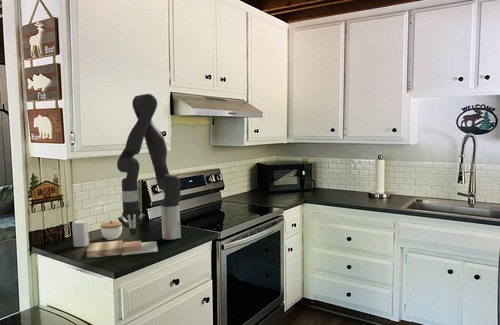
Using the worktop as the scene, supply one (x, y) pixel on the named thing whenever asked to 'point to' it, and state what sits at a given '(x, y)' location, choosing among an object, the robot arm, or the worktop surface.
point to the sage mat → (144, 248)
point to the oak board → (105, 249)
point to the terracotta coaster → (132, 246)
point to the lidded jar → (111, 230)
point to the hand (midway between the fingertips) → (133, 235)
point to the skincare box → (80, 234)
